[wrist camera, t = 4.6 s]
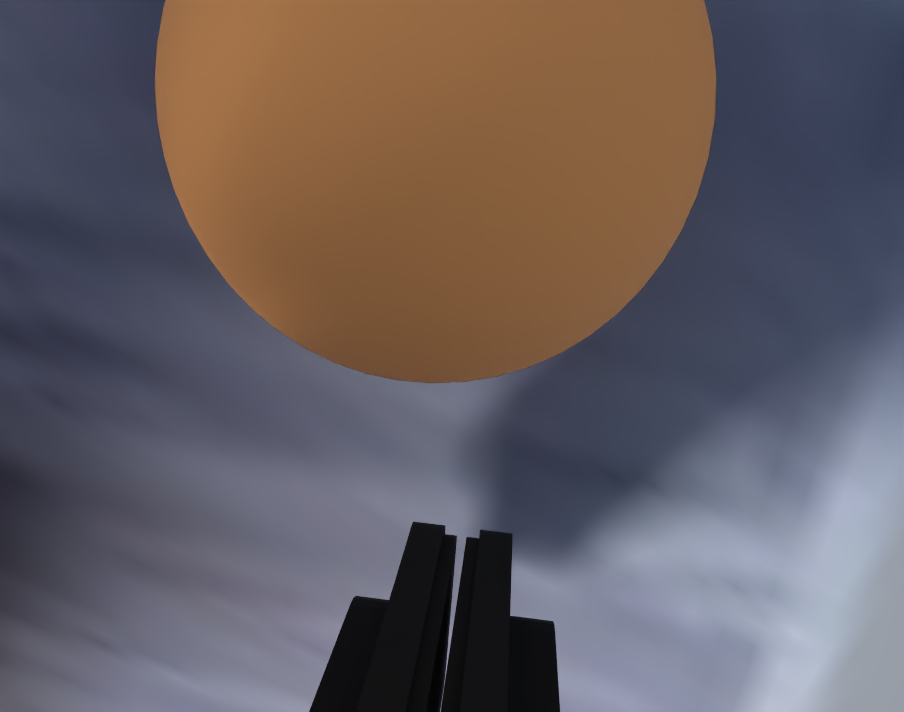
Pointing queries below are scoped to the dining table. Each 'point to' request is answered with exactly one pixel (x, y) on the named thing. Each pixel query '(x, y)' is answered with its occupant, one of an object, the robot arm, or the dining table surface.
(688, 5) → the ball
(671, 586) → the dining table surface
